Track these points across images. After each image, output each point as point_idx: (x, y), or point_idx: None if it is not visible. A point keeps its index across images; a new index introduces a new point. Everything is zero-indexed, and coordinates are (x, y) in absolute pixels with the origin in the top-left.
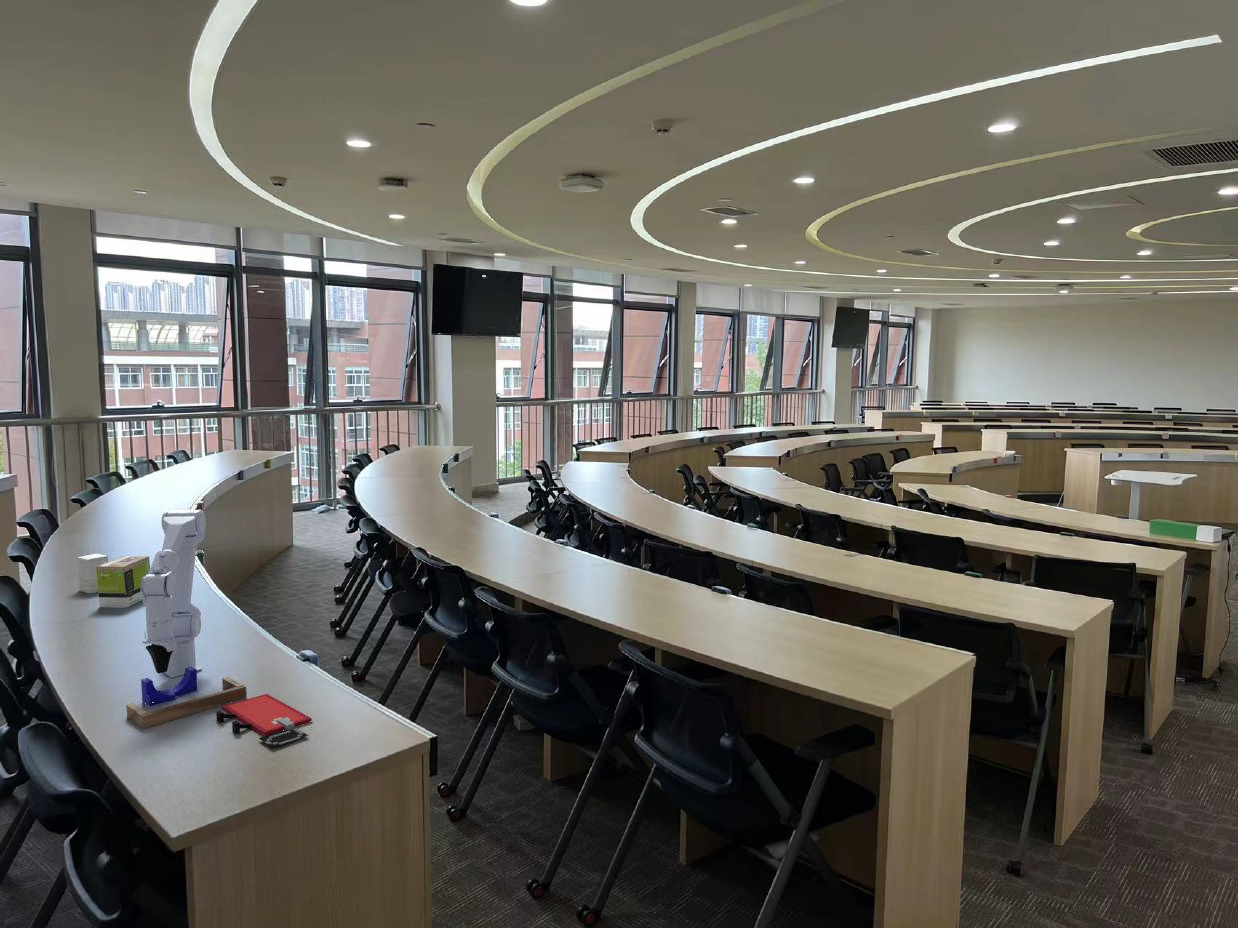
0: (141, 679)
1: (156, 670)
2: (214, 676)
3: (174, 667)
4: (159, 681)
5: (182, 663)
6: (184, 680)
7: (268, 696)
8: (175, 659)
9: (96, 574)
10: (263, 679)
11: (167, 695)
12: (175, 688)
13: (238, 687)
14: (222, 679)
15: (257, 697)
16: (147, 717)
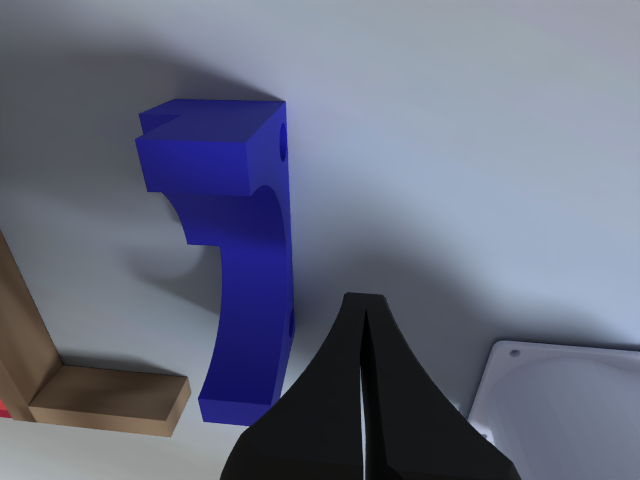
0: (242, 145)
1: (367, 302)
2: None
3: (533, 393)
4: (515, 290)
5: (508, 430)
6: (250, 336)
7: (4, 412)
8: (545, 440)
9: None
10: (197, 467)
11: (177, 210)
12: (261, 278)
13: (15, 404)
14: (165, 416)
15: None
16: None
